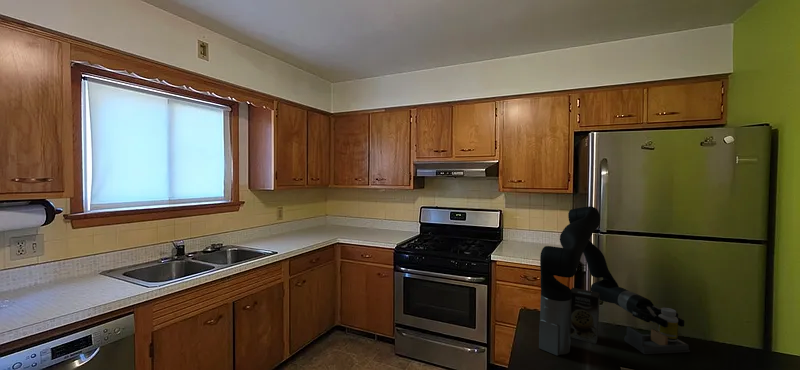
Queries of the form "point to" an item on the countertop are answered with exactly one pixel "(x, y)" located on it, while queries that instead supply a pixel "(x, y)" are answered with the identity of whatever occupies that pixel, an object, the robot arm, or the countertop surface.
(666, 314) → the supplement bottle
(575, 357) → the countertop surface
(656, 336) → the pusher
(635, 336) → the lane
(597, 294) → the coffee box
